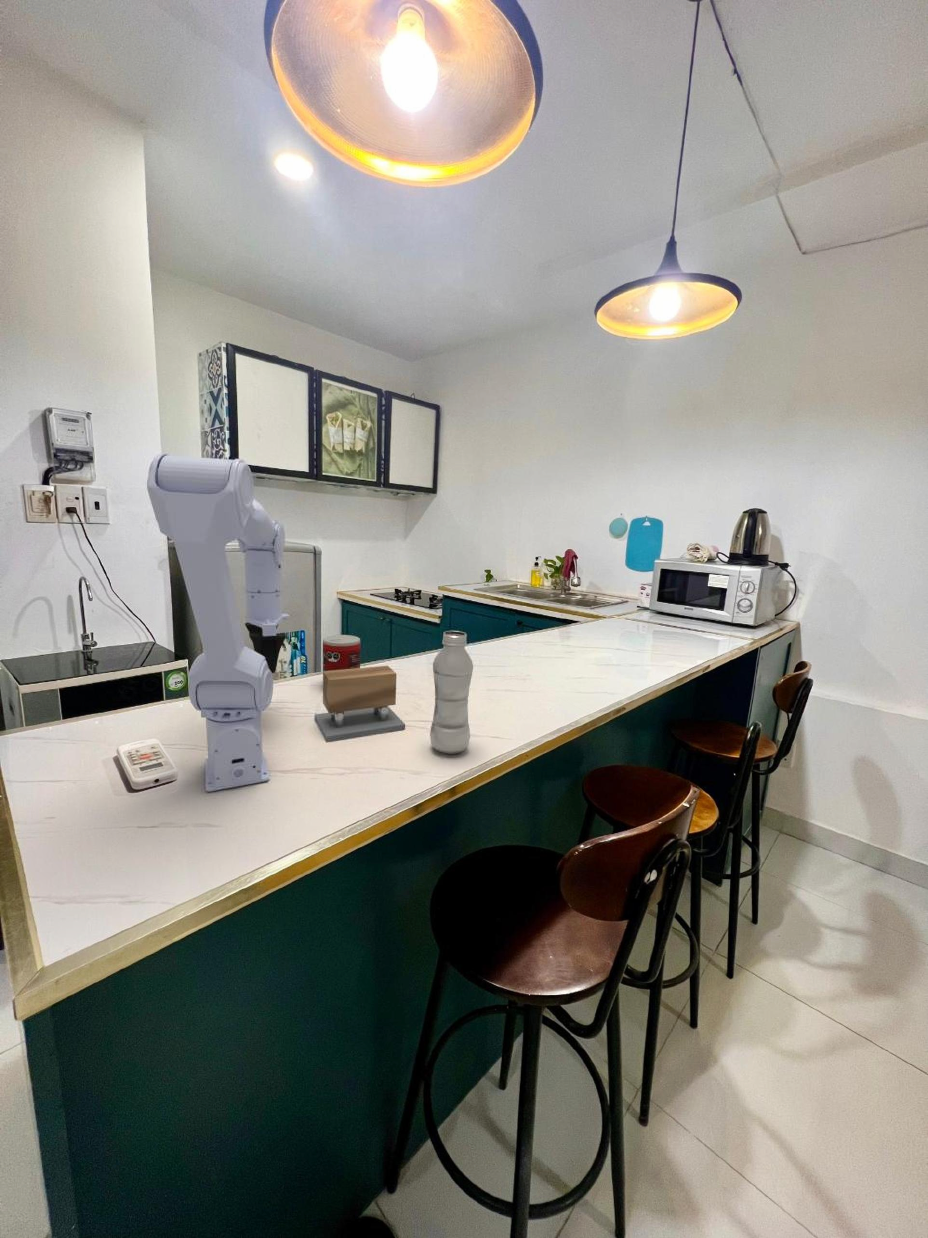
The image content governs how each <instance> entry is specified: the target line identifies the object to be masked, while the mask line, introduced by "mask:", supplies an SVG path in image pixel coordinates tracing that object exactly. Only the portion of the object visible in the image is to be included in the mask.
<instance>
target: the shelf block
mask: <svg viewBox="0 0 928 1238" xmlns="http://www.w3.org/2000/svg"><path fill="white" fill-rule="evenodd" d="M396 700H397V672H396V671H395V670H393V669H392V668H391V667H390V666H389V665H378V666H368V667H360V668H355V669H344V670H333V671H323V670H322V704H323V706H324V707H325V709H326V711H327V713H337V712H344V711H352V710H359V709H367V708H375V707H382V706H388V707H390V706H396V702H397V701H396Z"/></svg>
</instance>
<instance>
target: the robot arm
mask: <svg viewBox="0 0 928 1238" xmlns="http://www.w3.org/2000/svg"><path fill="white" fill-rule="evenodd" d="M146 480H147V481H146V489H147V493H148V496H149V500H150V502H151V503H150V504H151V506H152V507H151V508H152V510H153V513H154V517H155V520H156V523H157V525H158V528H159V531H160V533H161V534H163V535H164V536H165V537H168V538H169V539H170V540H172V541H173V543H174V547H175V552H176V555H177V559H178V563H179V566H180V569H181V573H182V576H183V580H184V584H185V587H186V590H187V594H188V597H189V602H190V605H191V609H192V612H193V616H194V620H195V622H196V628H197V631H198V634H199V638H200V641H201V645H202V648H203V652H202V653H200V654H199V655H198V656H197V657H196V658H195V659H194V661H193V663H192V664H191V667H190V669H189V672H188V674H187V678H188V684H189V689H188V695H189V701H190V704H191V705H192V707H193V708H194V709H195V710H196V711H199V712H200V718H205V724H206V725H205V726H206V729H205V730H206V741H207V742H206V745H207V757H206V758H205V760H204V761H205V762H204V764H205V767H204V768H205V791H206V792H214V791H219V790H224V789H231V788H235V787H241V786H246V785H251V784H257V783H261V782H262V783H263V782H267V781H270V774H269V773H270V772H269V769H268V765H267V762H266V761H267V760H266V758H265V754H264V750H263V730H262V729H263V728H262V727H263V724H262V712H263V711H265V710H266V709H267V708H268V707H269V706H270V705H271V702H272V699H273V693H274V678H273V677H274V676H273V674H275V673H276V671H277V666H278V662H279V661H278V660H279V655H280V651H281V648H282V646H283V644H284V642H285V640H286V638H287V635H286V633H285V632H277V628H278V626H279V625H280V623H282V622H283V621H287V620H289V619H290V615H289V614H288V613H283V611H282V610H283V605H282V597H283V596H282V564H284V549H285V542H286V533H285V527H284V525H283V523H280V522H278V520H274V519H272V518H271V516H270V515H269V514H268V513H267V511H266V510H265V508H264V507H263V505H262V504H261V503H260V502H258V501H257V500H256V498H254V495H255V486H254V485H255V484H254V476H253V474H252V471H251V468H250V466H249V465H248V463H246V461H245V460H244V459H242V458H234V459H228V458H226V459H225V458H211V457H201V456H200V457H198V456H185V455H184V456H183V455H169V454H168V453H158V454H156V455H155V457H154V458H153V459H152V461H151V463H150V465H149V468H148V476H147V479H146ZM235 540H236V541H237V543H238V547H239V550H240V552H241V553H243V555H244V582H245V610H246V611H245V612H246V613H245V616H244V619H245V623H244V626H245V627H246V630H247V631H248V637H249V639H250V640H251V642H252V646H253V649H251V648H249V647H247V646H246V643H245V640H244V635H243V629H242V625H241V620H240V616H239V612H238V607H237V606H238V605H237V602H236V598H235V597H236V596H235V592H234V587H233V582H232V578H231V573H230V569H229V563H228V558H227V554H226V550H225V549H226V546H227V544H229V543H231V542H233V541H235Z"/></svg>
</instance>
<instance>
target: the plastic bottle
mask: <svg viewBox="0 0 928 1238" xmlns="http://www.w3.org/2000/svg"><path fill="white" fill-rule="evenodd" d="M467 636H468V635H467V633H466V632H464V631H459V630H447V631H444V632H443V636H442V643H441V644H442V645H443V647H442V648H441V649H440V651H438V653H437V655H436V656H435V657H434V659H433V662H432V673H433V682H434V709H433V717H432V722H431V726H430V731H429V739H430V744H431V745H432V747H433V749H434V750H436V751H437V752H439V753H443V754H450V755H452V754H459V753H462V752H464V751H465V750H466V748H468V746H469V744H470V740H471V739H470V738H471V732H470V731H471V730H470V729H471V728H470V724H469V696H470V695H469V694H470V686H471V681H472V677H473V672H474V664H473V660H472V658H471V656H470V654H469V653H468V651H467V650H466V649H465V648H466V646H467V644H468V643H467Z"/></svg>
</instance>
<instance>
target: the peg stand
mask: <svg viewBox="0 0 928 1238" xmlns="http://www.w3.org/2000/svg"><path fill="white" fill-rule="evenodd" d="M314 721H315V723H316V724H317V727H318V729H319V730H320V732H321V734H322V736H323V738H324V740H325V742H326V743H328V742H329V743H330V742H336V741H342V740H347V739H348V740H349V739H354V738H361V737H367V736H372V735H373V736H374V735H379V734H385V733H393V732H398V731H404V730H406V724H405V722H403V720H401V718H400V717H399V716H398V715H397V714H396V713H395V712H394V710H392V709H391V708H390V706H382V707H375V708H367V709H359V710H352V711H344V712H337V713H328V712H324V713H316V714H314Z"/></svg>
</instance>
